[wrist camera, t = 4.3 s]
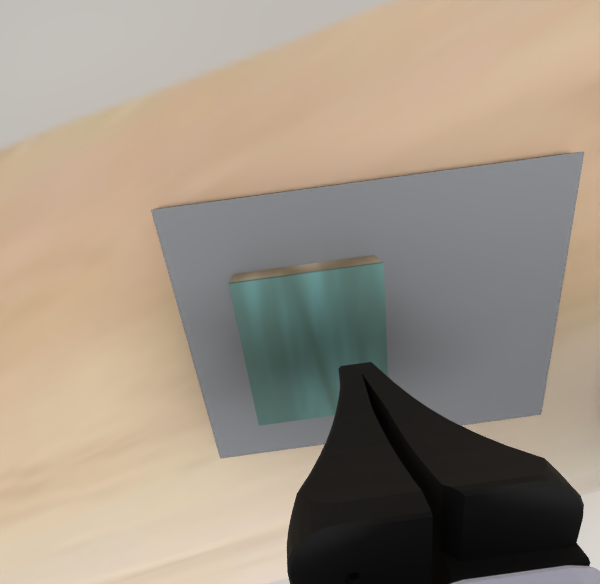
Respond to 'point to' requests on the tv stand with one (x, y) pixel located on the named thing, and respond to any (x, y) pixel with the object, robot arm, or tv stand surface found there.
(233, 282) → the tile
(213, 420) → the mat
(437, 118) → the tv stand surface
